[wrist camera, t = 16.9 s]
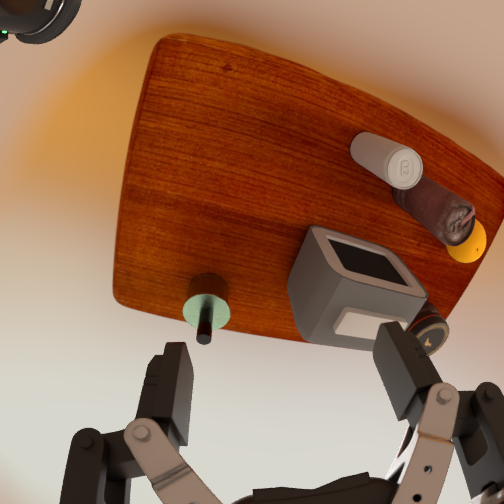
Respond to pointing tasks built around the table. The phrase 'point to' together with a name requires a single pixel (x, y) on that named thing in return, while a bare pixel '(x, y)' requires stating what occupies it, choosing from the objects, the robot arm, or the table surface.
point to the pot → (208, 286)
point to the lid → (206, 314)
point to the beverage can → (387, 159)
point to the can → (438, 210)
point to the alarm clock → (350, 290)
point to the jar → (429, 328)
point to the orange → (470, 246)
